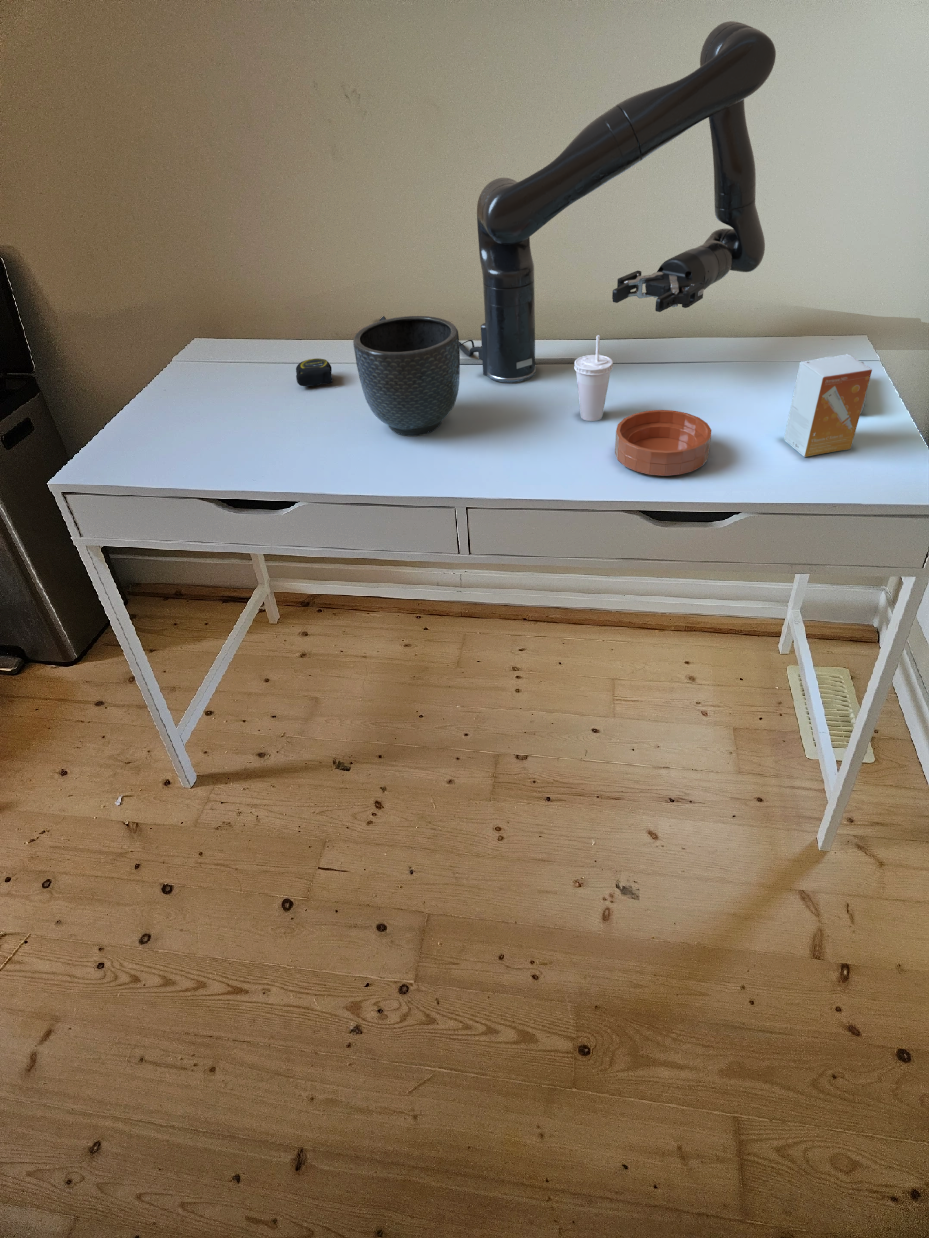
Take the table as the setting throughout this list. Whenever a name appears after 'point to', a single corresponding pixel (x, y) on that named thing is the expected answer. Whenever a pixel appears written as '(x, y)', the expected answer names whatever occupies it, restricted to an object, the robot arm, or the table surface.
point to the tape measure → (313, 372)
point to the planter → (409, 371)
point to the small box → (826, 404)
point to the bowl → (662, 442)
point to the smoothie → (593, 383)
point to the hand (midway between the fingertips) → (635, 301)
